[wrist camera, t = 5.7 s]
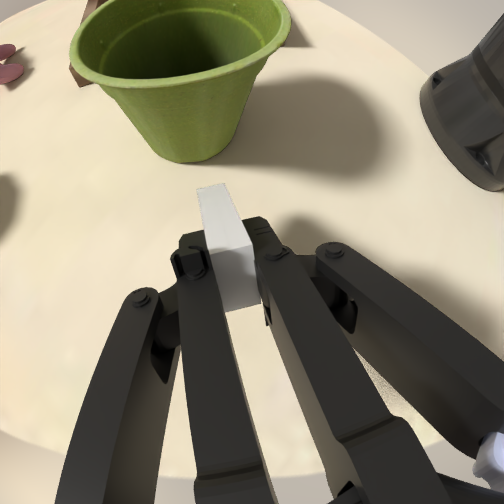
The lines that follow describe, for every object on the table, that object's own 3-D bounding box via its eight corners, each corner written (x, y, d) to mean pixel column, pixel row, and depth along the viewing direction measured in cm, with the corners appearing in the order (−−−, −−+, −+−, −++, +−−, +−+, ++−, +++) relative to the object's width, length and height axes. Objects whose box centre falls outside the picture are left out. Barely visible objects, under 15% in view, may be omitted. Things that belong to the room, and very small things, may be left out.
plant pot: (240, 212, 21) (255, 111, 10) (98, 172, 21) (29, 81, 10) (282, 94, 24) (309, -11, 13) (159, 68, 23) (140, -28, 12)
